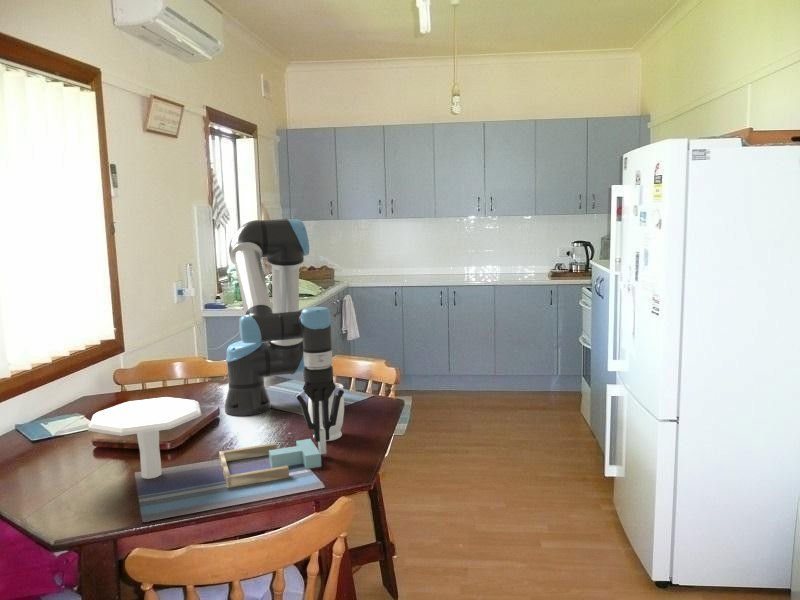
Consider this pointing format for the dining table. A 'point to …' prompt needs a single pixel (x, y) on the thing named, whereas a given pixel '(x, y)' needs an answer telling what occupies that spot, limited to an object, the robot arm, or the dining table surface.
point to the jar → (334, 430)
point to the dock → (254, 475)
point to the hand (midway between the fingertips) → (322, 452)
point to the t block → (296, 455)
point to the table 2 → (146, 425)
